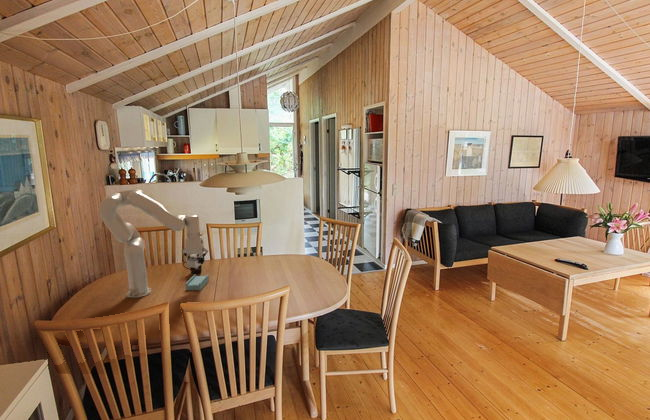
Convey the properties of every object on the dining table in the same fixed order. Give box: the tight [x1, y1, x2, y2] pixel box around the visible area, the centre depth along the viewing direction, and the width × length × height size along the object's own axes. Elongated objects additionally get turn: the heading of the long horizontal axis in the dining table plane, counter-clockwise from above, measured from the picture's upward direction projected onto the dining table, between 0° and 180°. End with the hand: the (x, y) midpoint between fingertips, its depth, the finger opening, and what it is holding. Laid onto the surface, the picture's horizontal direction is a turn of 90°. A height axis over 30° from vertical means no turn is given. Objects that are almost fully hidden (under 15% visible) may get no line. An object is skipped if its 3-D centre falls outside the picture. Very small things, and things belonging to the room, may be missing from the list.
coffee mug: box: [182, 261, 203, 275], centre depth 240 cm, size 12×9×10 cm
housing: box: [186, 254, 206, 268], centre depth 218 cm, size 6×9×6 cm, turn 162°
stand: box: [184, 274, 210, 291], centre depth 221 cm, size 14×9×4 cm, turn 178°
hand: (196, 263), depth 218 cm, fingers closed on housing, 7 cm apart
